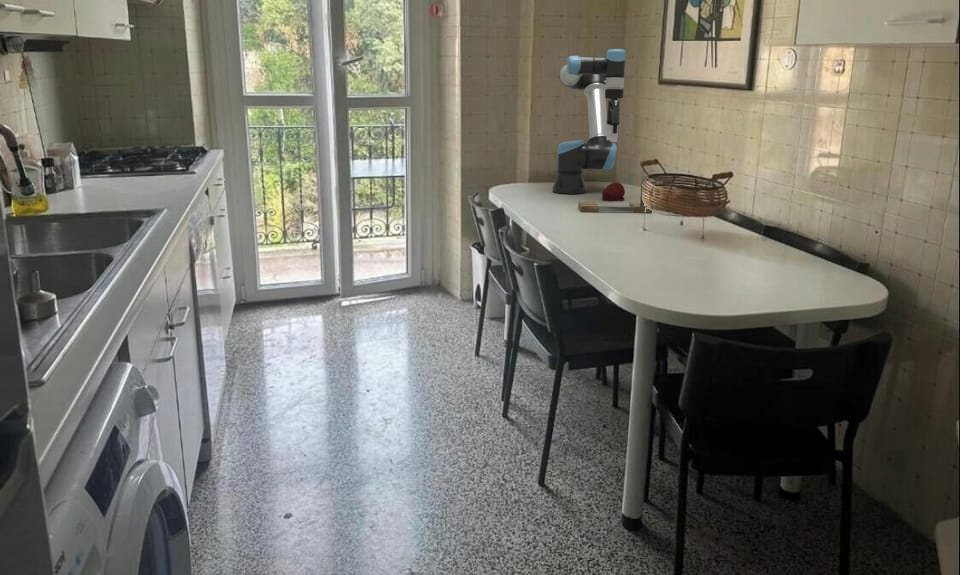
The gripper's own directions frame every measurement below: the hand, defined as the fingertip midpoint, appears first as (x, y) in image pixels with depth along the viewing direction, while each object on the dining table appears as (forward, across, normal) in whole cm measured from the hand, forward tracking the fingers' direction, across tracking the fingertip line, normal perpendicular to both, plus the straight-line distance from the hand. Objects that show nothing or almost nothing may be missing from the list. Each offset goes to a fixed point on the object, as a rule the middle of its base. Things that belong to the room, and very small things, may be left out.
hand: (611, 141), depth 303 cm
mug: (+25, -3, 0) cm, 25 cm away
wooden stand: (+27, +18, 0) cm, 32 cm away
